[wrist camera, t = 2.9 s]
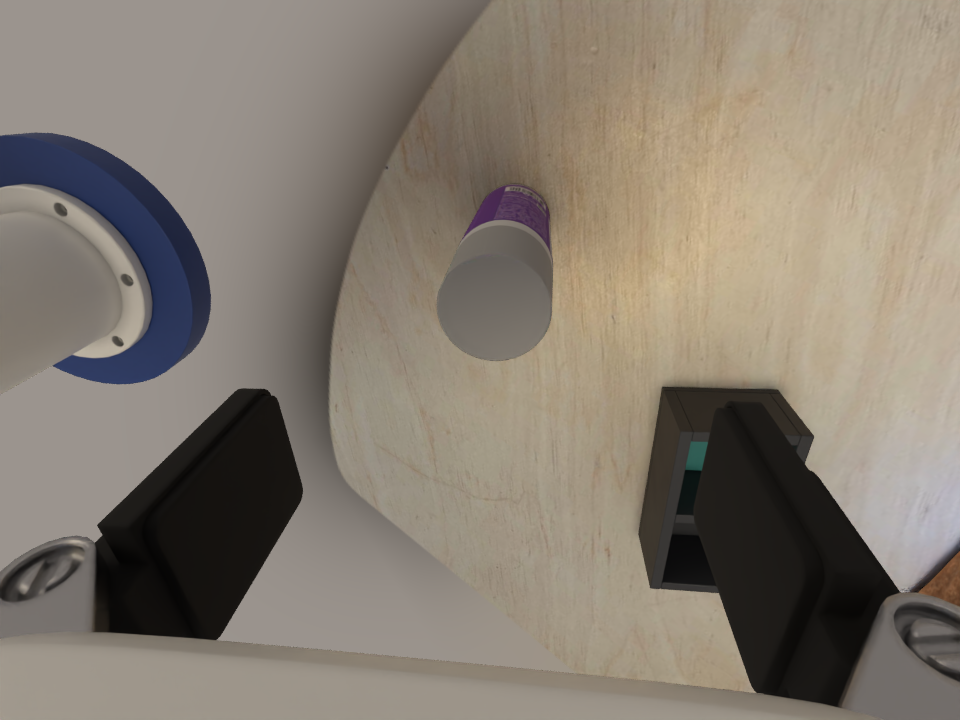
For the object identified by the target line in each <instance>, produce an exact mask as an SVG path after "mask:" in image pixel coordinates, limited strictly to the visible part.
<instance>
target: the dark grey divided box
mask: <svg viewBox="0 0 960 720" xmlns="http://www.w3.org/2000/svg"><path fill="white" fill-rule="evenodd" d="M728 401H758V402H761V403H762V404H763V405H764V406H765V408H766V409H767V411H768V412H769V414H770V415H771V416H772V418H773V419H774V421H775V422H776V424H777V425H778V427H779V428H780V429H781V431H782V432H783V434H784V435H785V437H786V438H787V439H788V441H789V442H790V444H791V445H792V447H793V448H794V449H795V451H796V452H797V454H798V455H799V457H800V458H801V459H802V461H803V462H804V464H805V461H806V458H807V456H808V453H809V450H810V447H811V444H812V441H813V439H814V435H813V434H812V433H811V432H810V430H809V429H808V428H807V426H806V425H805V424H804V423H803V421H802V420H801V419H800V418H799V416H798V415H797V414H796V413H795V411H794V410H793V409H792V407H791V406H790V405H789V404H788V402H787V401H786V400H785V399H784V397H783V396H782V395H781V393H780V392H779V391H778V390H754V389H714V388H674V387H663V388H662V393H661V399H660V405H659V411H658V418H657V424H656V430H655V436H654V442H653V448H652V455H651V461H650V467H649V473H648V479H647V485H646V492H645V498H644V504H643V510H642V516H641V522H640V529H639V538H640V543H641V548H642V552H643V557H644V562H645V566H646V571H647V575H648V580H649V585H650V588H653V589H660V588H661V589H669V590H683V591H697V592H711V593H719V592H718V589H717V586H716V583H715V580H714V577H713V574H712V571H711V568H710V566H709V563H708V560H707V557H706V554H705V551H704V548H703V545H702V543H701V540H700V537H699V534H698V531H697V528H696V525H695V521H694V503H695V499H696V494H697V490H698V485H699V481H700V476H701V472H702V467H703V463H704V458H705V454H706V449H707V445H708V440H709V435H710V431H711V426H712V422H713V417H714V413H715V411H716V409H717V408H724V406H725V404H726V403H727V402H728Z"/></svg>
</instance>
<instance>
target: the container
mask: <svg viewBox="0 0 960 720" xmlns="http://www.w3.org/2000/svg"><path fill="white" fill-rule="evenodd" d="M552 288H553V258H552V243H551V228H550V215H549V210H548V207H547V205H546V203H545V201H544V199H543V198H542V197H541V195H540V194H539V193H538V192H536V191H535V190H534V189H532V188H530V187H528V186H526V185H522V184H506V185H503V186H500V187H498V188H496V189H494V190H493V191H492V192H491V193H490V194H489V195H488V196H487V197H486V198H485V199H484V201H483V202H482V204H481V206H480V208H479V209H478V211H477V213H476V215H475V217H474V218H473V220H472V222H471V224H470V226H469V228H468V229H467V231H466V233H465V235H464V237H463V238H462V240H461V242H460V244H459V246H458V248H457V250H456V253H455V255H454V257H453V259H452V262H451V264H450V266H449V268H448V271H447V273H446V275H445V277H444V280H443V282H442V284H441V287H440V289H439V292H438V297H437V314H438V318H439V322H440V324H441V327H442V329H443V331H444V332H445V334H446V336H447V337H448V338H449V339H450V341H451V342H452V343H453V344H454V345H456V346H457V347H458V348H459V349H461V350H462V351H463V352H465V353H467V354H469V355H471V356H474V357H476V358H479V359H484V360H490V361H503V360H509V359H513V358H516V357H519V356H521V355H523V354H525V353H527V352H528V351H530V350H531V349H533V348H534V347H535V346H536V345H537V344H538V343H539V342H540V341H541V339H542V338H543V337H544V335H545V333H546V332H547V329H548V327H549V324H550V321H551V316H552Z"/></svg>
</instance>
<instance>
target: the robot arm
mask: <svg viewBox="0 0 960 720" xmlns="http://www.w3.org/2000/svg"><path fill="white" fill-rule="evenodd" d="M152 306H153V302H152V295H151V288H150V285H149V282H148V279H147V276H146V273H145V270H144V268H143V266H142V264H141V263H140V261H139V259H138V257H137V255H136V253H135V252H134V251H133V249H132V248H131V246H130V245H129V243H128V242H127V241H126V239H125V238H124V237H123V236H122V235H121V234H120V233H119V231H118V230H117V229H116V228H115V227H114V226H113V225H112V224H111V223H110V222H109V221H108V220H107V219H105V218H104V217H103V216H102V215H101V214H99V213H98V212H97V211H96V210H95V209H93V208H92V207H90V206H88V205H87V204H85V203H84V202H82V201H81V200H79V199H78V198H75V197H73V196H71V195H69V194H67V193H65V192H62V191H60V190H57V189H54V188H50V187H46V186H43V185H34V184H19V185H12V186H5V187H1V188H0V395H1V394H2V393H4V392H6V391H8V390H9V389H11V388H13V387H15V386H17V385H19V384H20V383H22V382H24V381H25V380H27V379H29V378H31V377H33V376H35V375H37V374H38V373H40V372H42V371H44V370H45V369H47V368H49V367H51V366H53V365H54V364H56V363H58V362H60V361H62V360H63V359H65V358H67V357H69V356H71V355H75V356H79V357H87V358H104V357H110V356H113V355H116V354H120V353H121V352H123V351H125V350H126V349H128V348H130V347H132V346H133V345H134V344H135V343H137V342H138V341H139V340H140V339H141V338H142V337H143V335H144V334H145V332H146V331H147V329H148V327H149V324H150V321H151V318H152ZM302 494H303V488H302V483H301V479H300V476H299V472H298V469H297V466H296V462H295V458H294V455H293V451H292V448H291V444H290V441H289V437H288V434H287V430H286V427H285V424H284V420H283V416H282V413H281V410H280V406H279V402H278V400H277V398H276V397H275V396H271V394H270V392H269V391H268V390H265V389H238V390H237V391H235V392H234V393H233V394H232V395H231V396H230V397H229V398H228V399H227V400H226V401H225V402H224V403H223V404H222V405H221V406H220V407H219V408H218V409H217V410H216V411H215V412H214V413H213V414H211V415H210V416H209V417H208V418H207V419H206V420H205V421H204V422H203V423H202V424H201V425H200V426H199V427H198V428H197V429H196V430H195V431H194V432H193V433H192V434H191V435H190V436H189V437H188V438H187V439H186V440H185V441H184V442H183V443H182V444H181V445H179V447H177V448H176V449H175V450H174V451H173V452H172V453H171V454H170V455H169V456H168V457H167V458H166V459H165V460H164V461H163V462H162V463H161V464H160V465H159V466H158V467H157V468H156V469H155V470H154V471H153V472H152V473H151V474H149V475H148V476H147V477H146V478H145V479H144V480H143V481H142V482H141V483H140V484H139V485H138V486H137V487H136V488H135V489H134V490H133V491H132V492H131V493H130V494H129V495H128V496H127V497H126V498H125V499H124V500H123V501H122V502H121V503H120V504H118V505H117V506H116V507H115V508H114V509H113V510H112V511H111V512H110V513H109V514H108V515H107V516H106V517H105V518H104V519H103V520H102V521H101V522H100V523H99V524H98V525H97V526H98V528H99V529H100V531H101V533H102V537H100V538H99V539H98V541H96V542H95V543H94V542H93V541H92V540H90V539H89V538H87V537H81V536H71V537H63V538H59V539H57V540H53V541H49V542H47V543H44V544H42V545H40V546H38V547H36V548H33V549H31V550H30V551H28V552H26V553H25V554H23V555H21V556H20V557H18V558H17V559H15V560H14V561H13V562H11V563H10V564H9V565H8V566H6V567H5V568H4V569H3V570H2V571H1V572H0V720H960V607H959V606H957V605H954V604H952V603H949V602H947V601H944V600H942V599H940V598H937V597H934V596H929V595H925V594H920V593H900V591H899V590H898V588H897V587H896V586H895V584H894V583H893V581H892V580H891V578H890V577H889V576H888V574H887V573H886V571H885V570H884V569H883V567H882V566H881V564H880V563H879V562H878V560H877V559H876V557H875V556H874V555H873V553H872V552H871V550H870V549H869V548H868V546H867V545H866V543H865V542H864V540H863V539H862V538H861V536H860V535H859V533H858V532H857V531H856V529H855V528H854V526H853V525H852V524H851V522H850V521H849V519H848V518H847V517H846V515H845V514H844V512H843V511H842V509H841V508H840V507H839V505H838V504H837V502H836V501H835V500H834V498H833V497H832V495H831V494H830V493H829V491H828V490H827V488H826V487H825V486H824V484H823V483H822V481H821V480H820V478H819V477H818V476H817V475H816V474H815V473H814V472H812V471H810V470H808V468H807V467H806V465H805V464H804V462H803V461H802V459H801V458H800V457H799V455H798V454H797V452H796V451H795V449H794V448H793V447H792V445H791V444H790V442H789V441H788V439H787V438H786V437H785V435H784V434H783V432H782V431H781V429H780V428H779V427H778V425H777V424H776V422H775V421H774V419H773V418H772V416H771V415H770V414H769V412H768V411H767V409H766V408H765V406H764V405H763V404H762V403H761V402H758V401H728V402H727V403H726V404H725V406H724V408H717V409H716V411H715V413H714V417H713V422H712V426H711V431H710V435H709V440H708V445H707V449H706V454H705V458H704V463H703V467H702V472H701V476H700V481H699V485H698V490H697V494H696V499H695V503H694V521H695V525H696V528H697V531H698V534H699V537H700V540H701V543H702V545H703V548H704V551H705V554H706V557H707V560H708V563H709V566H710V568H711V571H712V574H713V577H714V580H715V583H716V586H717V589H718V592H719V594H720V597H721V600H722V603H723V606H724V609H725V612H726V615H727V617H728V620H729V623H730V626H731V629H732V632H733V635H734V638H735V640H736V643H737V646H738V649H739V652H740V655H741V658H742V661H743V664H744V666H745V669H746V672H747V675H748V678H749V681H750V683H751V686H752V688H753V689H754V691H755V692H757V693H749V692H741V691H732V690H724V689H715V688H706V687H698V686H689V685H681V684H672V683H663V682H655V681H645V680H635V679H624V678H614V677H604V676H594V675H584V674H574V673H564V672H553V671H543V670H533V669H523V668H513V667H503V666H493V665H482V664H471V663H460V662H450V661H439V660H428V659H418V658H408V657H396V656H386V655H375V654H364V653H353V652H342V651H332V650H320V649H309V648H297V647H286V646H275V645H264V644H252V643H240V642H229V641H218V640H217V639H218V638H219V637H220V636H221V634H222V633H223V631H224V629H225V628H226V626H227V624H228V623H229V621H230V619H231V618H232V616H233V614H234V612H235V611H236V609H237V608H238V606H239V604H240V603H241V601H242V599H243V598H244V596H245V594H246V592H247V591H248V589H249V587H250V585H251V584H252V582H253V581H254V579H255V577H256V576H257V574H258V572H259V571H260V569H261V567H262V566H263V564H264V562H265V561H266V559H267V557H268V556H269V554H270V552H271V550H272V549H273V547H274V545H275V544H276V542H277V540H278V539H279V537H280V535H281V533H282V532H283V530H284V529H285V527H286V525H287V524H288V522H289V520H290V519H291V517H292V515H293V514H294V512H295V510H296V509H297V507H298V505H299V503H300V501H301V498H302ZM758 693H763V694H758Z"/></svg>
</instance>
